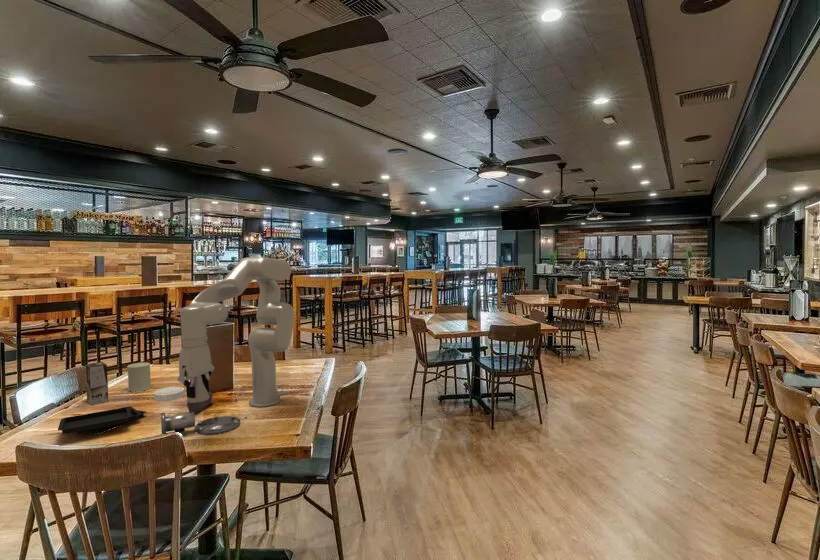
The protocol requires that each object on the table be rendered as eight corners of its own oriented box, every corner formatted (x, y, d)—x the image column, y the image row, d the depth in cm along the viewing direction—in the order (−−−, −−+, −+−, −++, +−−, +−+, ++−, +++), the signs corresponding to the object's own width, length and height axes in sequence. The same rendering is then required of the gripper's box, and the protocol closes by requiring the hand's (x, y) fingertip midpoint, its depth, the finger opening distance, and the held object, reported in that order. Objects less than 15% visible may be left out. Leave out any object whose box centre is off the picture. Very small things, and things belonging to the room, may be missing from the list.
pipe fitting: (237, 415, 167) (236, 395, 166) (243, 429, 154) (242, 406, 153) (162, 429, 154) (161, 407, 154) (162, 445, 141) (160, 420, 141)
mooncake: (157, 394, 195) (157, 387, 195) (187, 392, 199) (186, 384, 198) (150, 403, 183) (150, 395, 183) (182, 400, 187) (181, 392, 187)
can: (123, 390, 201) (122, 365, 200) (142, 385, 209) (141, 360, 209) (137, 392, 197) (136, 367, 197) (155, 387, 206) (154, 362, 205)
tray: (113, 411, 174) (112, 399, 173) (163, 414, 170) (163, 401, 169) (36, 443, 144) (35, 428, 144) (95, 448, 140) (94, 432, 140)
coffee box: (109, 401, 186) (107, 364, 185) (91, 405, 181) (89, 367, 180) (104, 397, 192) (102, 361, 191) (86, 400, 187) (84, 364, 186)
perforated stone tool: (206, 402, 183) (205, 386, 183) (217, 402, 183) (217, 386, 182) (182, 415, 169) (182, 397, 168) (195, 415, 168) (194, 398, 167)
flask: (210, 401, 146) (209, 372, 146) (187, 405, 143) (185, 375, 142) (209, 394, 153) (207, 367, 152) (186, 398, 149) (184, 370, 148)
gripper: (205, 336, 156) (208, 385, 157) (164, 347, 139) (168, 402, 141) (222, 337, 153) (225, 387, 155) (182, 349, 137) (186, 404, 138)
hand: (198, 394), depth 148 cm, fingers closed on flask, 5 cm apart
